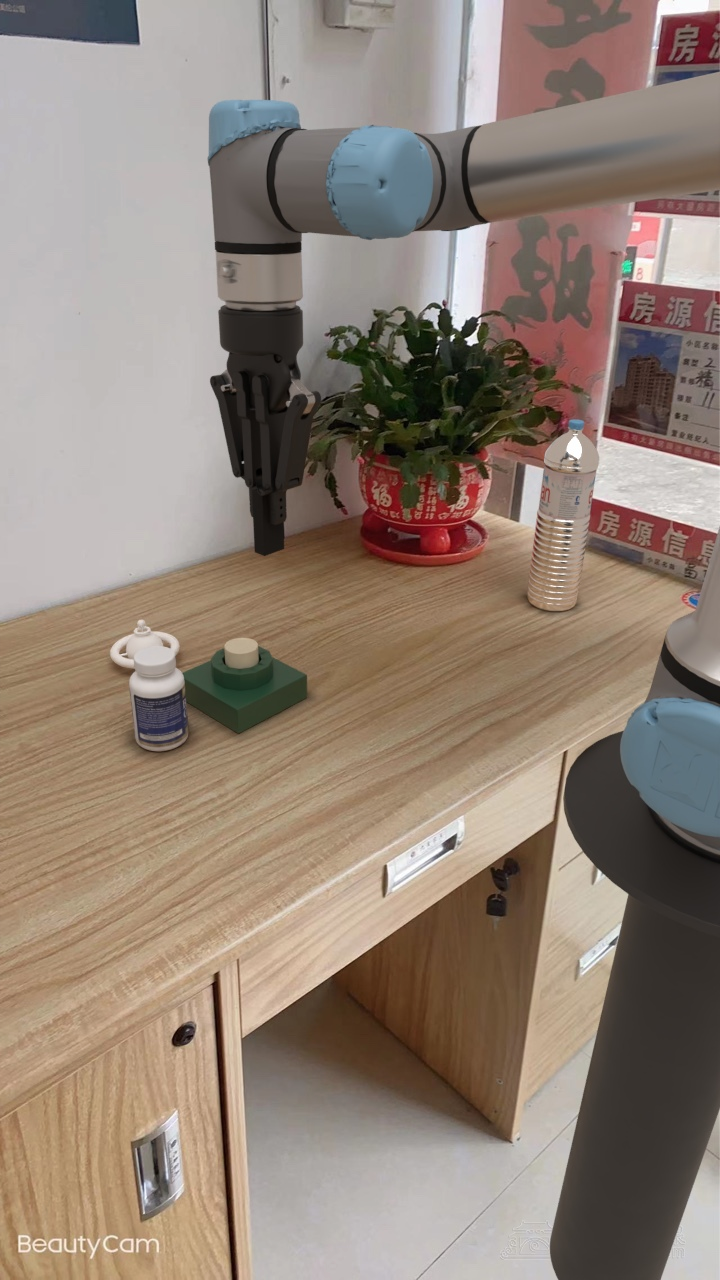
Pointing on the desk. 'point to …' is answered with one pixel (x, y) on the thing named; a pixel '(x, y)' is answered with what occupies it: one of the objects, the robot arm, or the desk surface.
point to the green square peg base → (244, 690)
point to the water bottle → (562, 520)
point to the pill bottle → (158, 700)
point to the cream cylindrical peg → (241, 653)
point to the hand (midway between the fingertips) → (269, 550)
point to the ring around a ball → (140, 644)
